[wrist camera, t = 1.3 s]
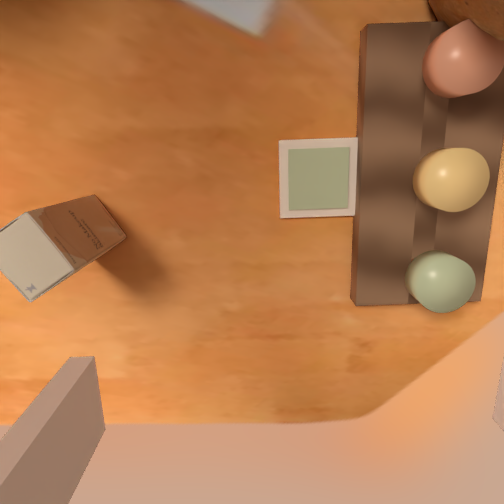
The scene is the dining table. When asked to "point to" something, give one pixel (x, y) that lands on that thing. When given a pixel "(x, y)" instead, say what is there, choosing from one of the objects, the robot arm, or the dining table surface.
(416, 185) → the button ochre
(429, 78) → the button terracotta
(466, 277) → the button green
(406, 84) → the board
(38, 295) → the box
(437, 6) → the potted plant
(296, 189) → the swatch
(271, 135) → the dining table surface
